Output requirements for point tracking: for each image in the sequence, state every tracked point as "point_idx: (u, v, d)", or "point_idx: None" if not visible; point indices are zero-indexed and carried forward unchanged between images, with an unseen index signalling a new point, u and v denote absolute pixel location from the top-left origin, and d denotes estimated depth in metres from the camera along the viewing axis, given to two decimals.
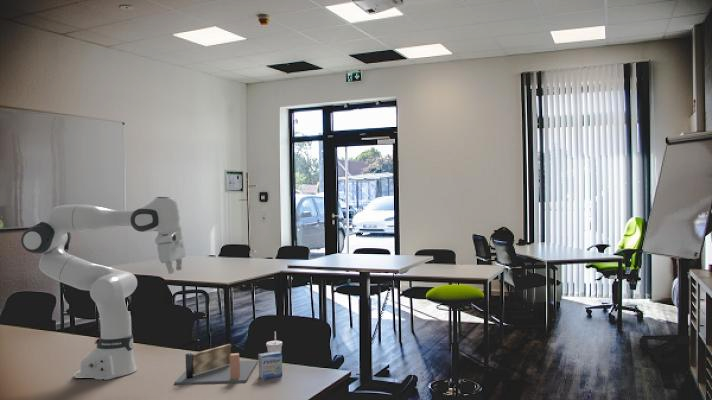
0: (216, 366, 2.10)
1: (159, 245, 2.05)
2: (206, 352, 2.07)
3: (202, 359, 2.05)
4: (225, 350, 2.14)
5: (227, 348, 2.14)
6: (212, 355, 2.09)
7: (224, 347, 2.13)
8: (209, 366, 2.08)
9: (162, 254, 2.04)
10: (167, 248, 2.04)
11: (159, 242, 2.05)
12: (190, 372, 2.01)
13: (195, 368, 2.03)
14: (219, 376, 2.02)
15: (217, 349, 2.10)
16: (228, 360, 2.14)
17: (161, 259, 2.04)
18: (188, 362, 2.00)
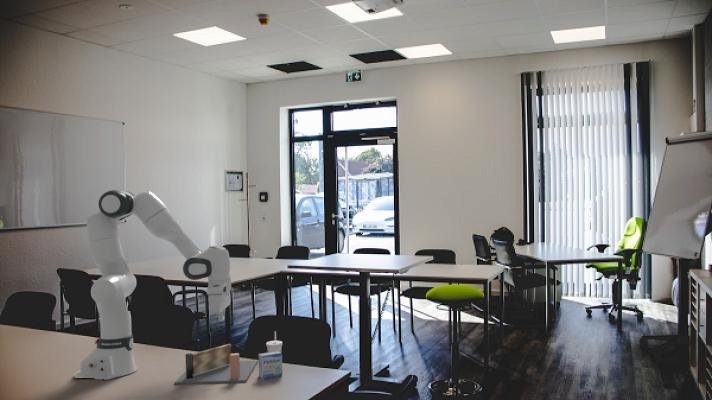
0: (216, 366, 2.10)
1: (210, 296, 2.10)
2: (206, 352, 2.07)
3: (202, 359, 2.05)
4: (225, 350, 2.14)
5: (227, 348, 2.14)
6: (212, 355, 2.09)
7: (224, 347, 2.13)
8: (209, 366, 2.08)
9: (213, 305, 2.09)
10: (217, 300, 2.09)
11: (210, 293, 2.10)
12: (190, 372, 2.01)
13: (195, 368, 2.03)
14: (219, 376, 2.02)
15: (217, 349, 2.10)
16: (228, 360, 2.14)
17: (211, 310, 2.09)
18: (188, 362, 2.00)
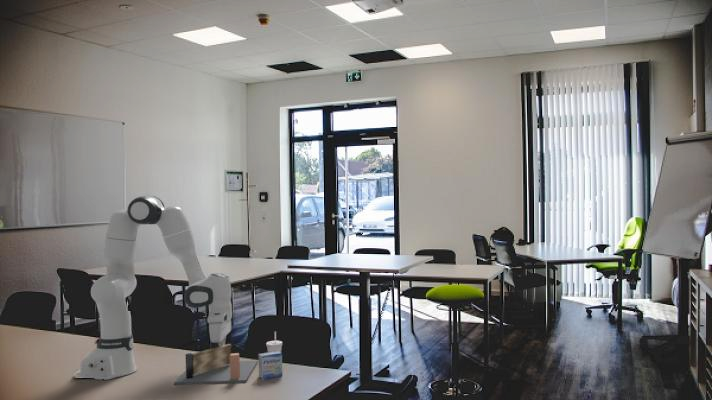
0: (216, 366, 2.10)
1: (211, 325, 2.10)
2: (206, 352, 2.07)
3: (202, 359, 2.05)
4: (225, 350, 2.14)
5: (227, 348, 2.14)
6: (212, 355, 2.09)
7: (224, 347, 2.13)
8: (209, 366, 2.08)
9: (213, 334, 2.09)
10: (218, 328, 2.09)
11: (211, 322, 2.10)
12: (190, 372, 2.01)
13: (195, 368, 2.03)
14: (219, 376, 2.02)
15: (217, 349, 2.10)
16: (228, 360, 2.14)
17: (212, 339, 2.09)
18: (188, 362, 2.00)
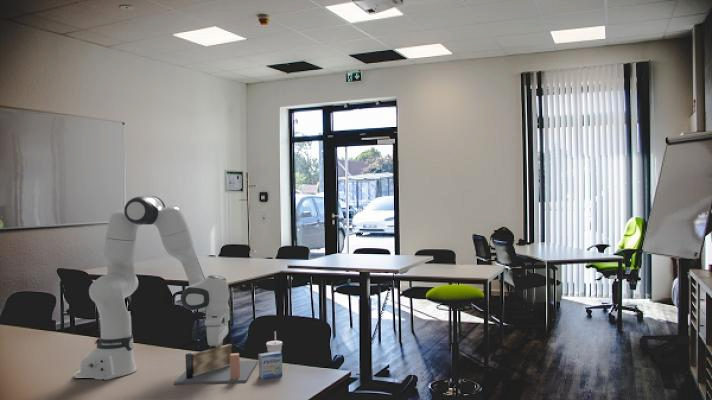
0: (216, 366, 2.10)
1: (208, 328, 2.06)
2: (206, 352, 2.06)
3: (202, 359, 2.05)
4: (226, 350, 2.13)
5: (228, 348, 2.14)
6: (212, 355, 2.09)
7: (225, 347, 2.13)
8: (209, 366, 2.08)
9: (211, 337, 2.05)
10: (216, 332, 2.05)
11: (209, 324, 2.06)
12: (190, 372, 2.01)
13: (195, 368, 2.03)
14: (219, 376, 2.02)
15: (217, 349, 2.10)
16: (229, 360, 2.14)
17: (209, 342, 2.04)
18: (188, 362, 2.00)
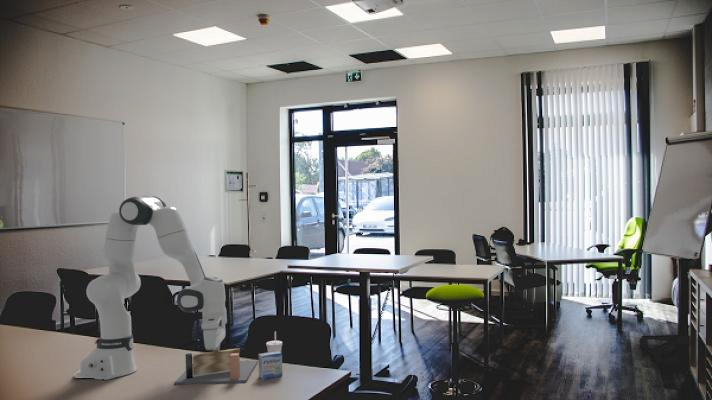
0: (221, 369, 2.06)
1: (205, 331, 1.99)
2: (208, 354, 2.04)
3: (204, 361, 2.03)
4: None
5: (235, 352, 2.07)
6: (216, 358, 2.05)
7: (231, 351, 2.07)
8: (212, 369, 2.04)
9: (208, 341, 1.98)
10: (213, 335, 1.98)
11: (205, 328, 1.99)
12: (190, 372, 2.01)
13: (195, 369, 2.02)
14: (219, 376, 2.02)
15: (222, 352, 2.06)
16: None
17: (206, 346, 1.97)
18: (188, 362, 2.00)
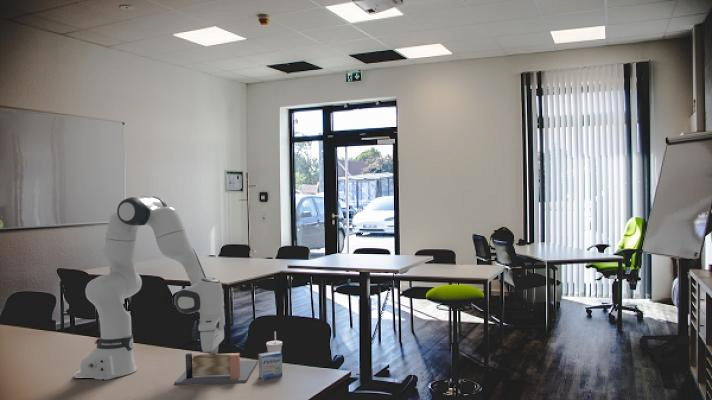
0: (220, 373, 2.01)
1: (202, 333, 1.95)
2: (207, 356, 2.01)
3: (203, 363, 2.01)
4: None
5: None
6: (215, 361, 2.01)
7: None
8: (211, 371, 2.01)
9: (205, 343, 1.94)
10: (210, 337, 1.94)
11: (202, 330, 1.95)
12: (190, 372, 2.01)
13: (195, 370, 2.01)
14: (219, 376, 2.02)
15: (221, 356, 2.01)
16: None
17: (203, 348, 1.94)
18: (188, 362, 2.00)
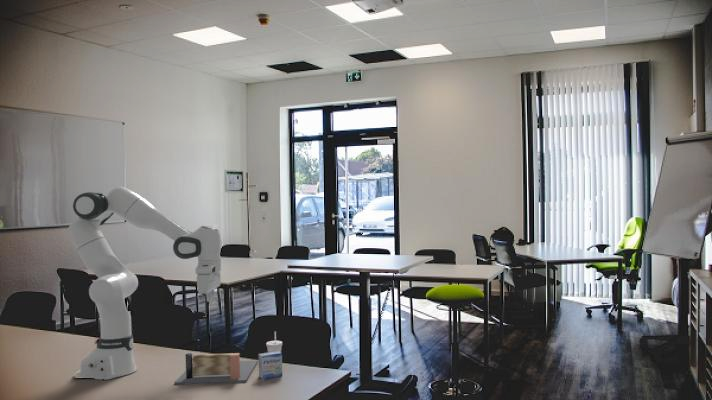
0: (220, 373, 2.01)
1: (199, 275, 2.09)
2: (207, 356, 2.01)
3: (203, 363, 2.01)
4: None
5: None
6: (215, 361, 2.01)
7: None
8: (211, 371, 2.01)
9: (201, 285, 2.08)
10: (206, 279, 2.08)
11: (199, 272, 2.09)
12: (190, 372, 2.01)
13: (195, 370, 2.01)
14: (219, 376, 2.02)
15: (221, 356, 2.01)
16: None
17: (199, 290, 2.07)
18: (188, 362, 2.00)
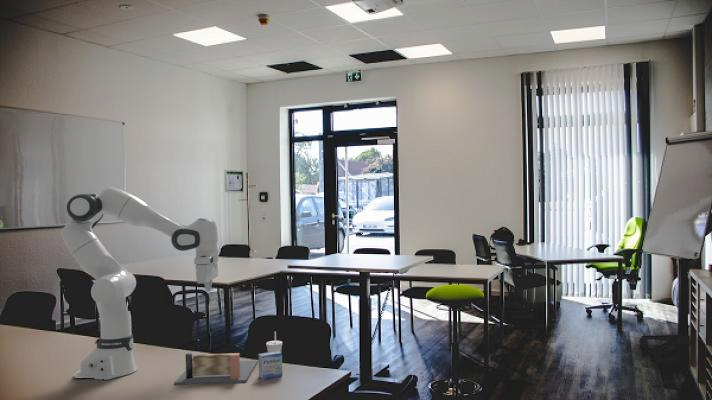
0: (220, 373, 2.01)
1: (197, 266, 2.15)
2: (207, 356, 2.01)
3: (203, 363, 2.01)
4: None
5: None
6: (215, 361, 2.01)
7: None
8: (211, 371, 2.01)
9: (200, 275, 2.14)
10: (204, 269, 2.14)
11: (197, 263, 2.15)
12: (190, 372, 2.01)
13: (195, 370, 2.01)
14: (219, 376, 2.02)
15: (221, 356, 2.01)
16: None
17: (198, 280, 2.14)
18: (188, 362, 2.00)
